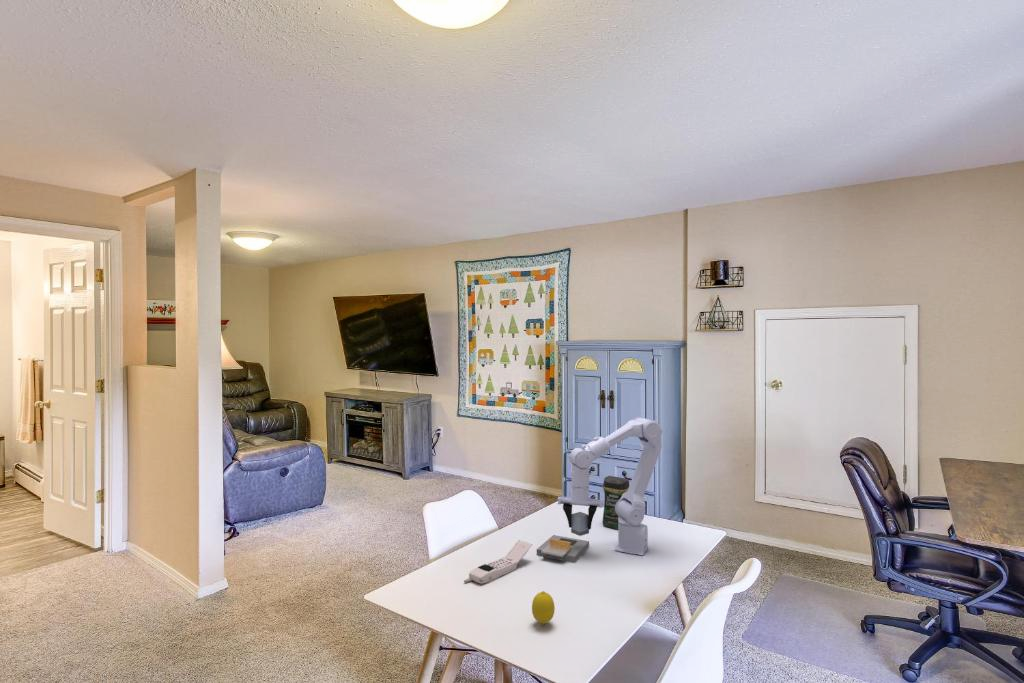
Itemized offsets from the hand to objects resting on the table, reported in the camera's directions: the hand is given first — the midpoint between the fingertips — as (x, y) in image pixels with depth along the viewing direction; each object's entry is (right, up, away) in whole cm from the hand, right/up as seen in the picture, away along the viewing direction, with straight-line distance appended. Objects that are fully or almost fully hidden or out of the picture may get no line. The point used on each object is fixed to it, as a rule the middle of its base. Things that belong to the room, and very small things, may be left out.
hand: (580, 527), depth 173 cm
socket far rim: (-8, -9, +7) cm, 14 cm away
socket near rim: (0, -9, +3) cm, 9 cm away
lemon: (-15, -9, -43) cm, 47 cm away
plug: (0, -2, 0) cm, 2 cm away
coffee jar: (+17, -9, +27) cm, 33 cm away
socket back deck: (-7, -9, -1) cm, 11 cm away
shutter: (-8, -6, -3) cm, 11 cm away
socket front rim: (-2, -9, +8) cm, 12 cm away
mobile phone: (-26, -9, -13) cm, 31 cm away
